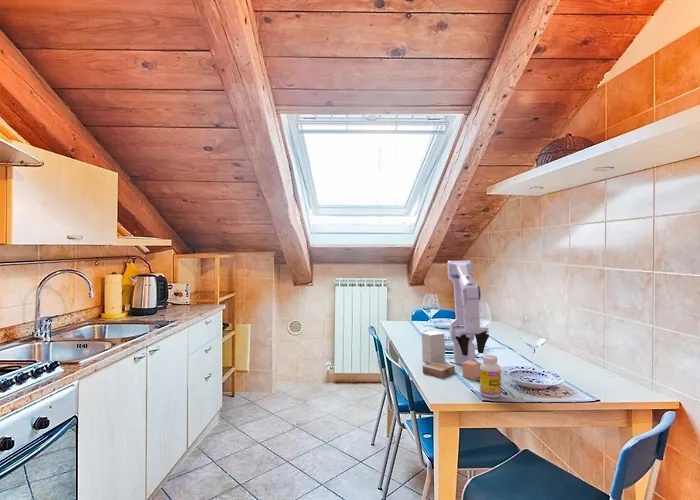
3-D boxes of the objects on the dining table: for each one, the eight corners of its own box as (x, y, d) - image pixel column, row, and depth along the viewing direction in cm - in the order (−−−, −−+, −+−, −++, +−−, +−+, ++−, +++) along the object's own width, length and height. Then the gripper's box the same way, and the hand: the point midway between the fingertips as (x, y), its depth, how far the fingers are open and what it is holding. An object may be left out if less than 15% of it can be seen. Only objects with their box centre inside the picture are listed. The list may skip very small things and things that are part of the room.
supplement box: (445, 362, 168) (445, 333, 168) (431, 364, 165) (430, 335, 165) (435, 358, 175) (435, 330, 175) (421, 360, 172) (421, 332, 172)
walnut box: (435, 368, 162) (435, 361, 162) (454, 373, 155) (454, 365, 155) (422, 373, 156) (422, 366, 156) (442, 378, 149) (441, 371, 149)
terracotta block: (468, 374, 153) (468, 360, 152) (479, 376, 149) (479, 362, 149) (462, 376, 149) (462, 362, 149) (473, 379, 146) (473, 365, 146)
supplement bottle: (488, 399, 127) (487, 360, 127) (476, 392, 133) (475, 355, 133) (505, 397, 129) (504, 358, 129) (493, 390, 135) (492, 353, 135)
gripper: (464, 320, 139) (465, 358, 138) (494, 317, 145) (495, 354, 144) (450, 318, 145) (452, 354, 144) (480, 315, 151) (481, 350, 151)
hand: (472, 354), depth 145 cm, fingers open, 7 cm apart
